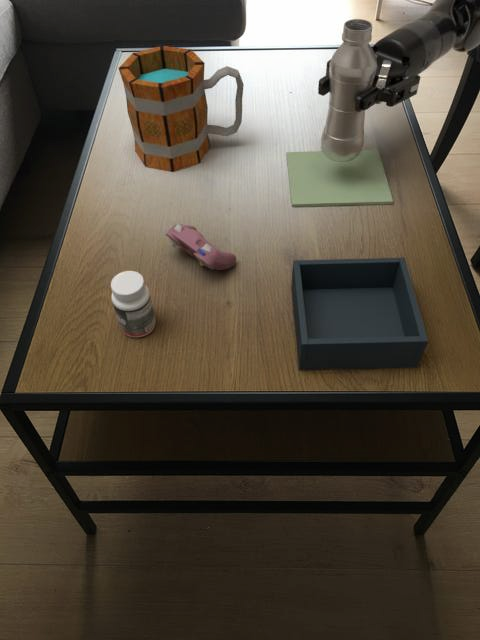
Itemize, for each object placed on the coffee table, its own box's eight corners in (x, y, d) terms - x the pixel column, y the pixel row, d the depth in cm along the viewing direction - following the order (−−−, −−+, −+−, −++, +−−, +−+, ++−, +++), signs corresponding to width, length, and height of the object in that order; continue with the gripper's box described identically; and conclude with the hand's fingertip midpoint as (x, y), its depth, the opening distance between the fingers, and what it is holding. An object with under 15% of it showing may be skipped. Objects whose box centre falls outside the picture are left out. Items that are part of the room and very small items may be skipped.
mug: (133, 174, 92) (115, 90, 80) (136, 129, 100) (121, 48, 89) (247, 166, 92) (246, 82, 81) (242, 123, 101) (240, 41, 89)
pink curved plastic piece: (176, 252, 82) (154, 232, 76) (195, 229, 82) (174, 206, 76) (221, 285, 78) (202, 266, 71) (241, 260, 78) (223, 239, 71)
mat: (377, 152, 94) (378, 149, 94) (392, 204, 85) (393, 201, 85) (286, 154, 94) (286, 151, 94) (291, 207, 86) (292, 204, 85)
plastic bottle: (322, 141, 89) (334, 12, 73) (363, 145, 88) (385, 15, 72) (316, 165, 85) (329, 34, 69) (360, 169, 84) (382, 37, 68)
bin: (396, 285, 75) (404, 257, 70) (417, 367, 66) (428, 341, 62) (291, 288, 75) (293, 260, 71) (298, 370, 66) (301, 344, 62)
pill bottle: (117, 316, 73) (103, 274, 66) (151, 306, 73) (140, 263, 67) (125, 343, 70) (111, 301, 63) (160, 332, 71) (150, 290, 64)
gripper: (371, 15, 84) (301, 54, 77) (453, 43, 78) (385, 89, 71) (364, 62, 90) (298, 103, 83) (440, 92, 84) (375, 139, 76)
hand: (338, 96), depth 77 cm, fingers closed on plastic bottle, 6 cm apart
